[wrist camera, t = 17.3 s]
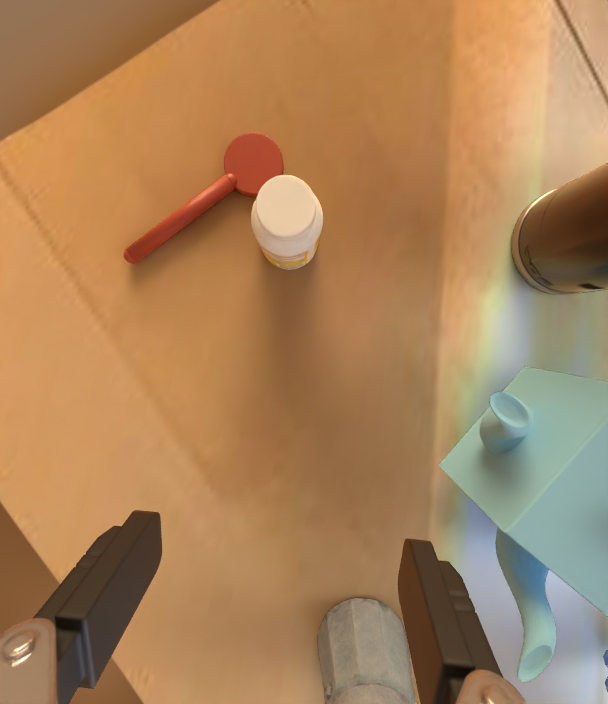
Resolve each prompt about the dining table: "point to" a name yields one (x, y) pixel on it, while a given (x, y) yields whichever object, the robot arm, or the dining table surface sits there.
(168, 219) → the red spoon
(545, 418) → the teakettle
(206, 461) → the dining table surface
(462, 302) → the dining table surface
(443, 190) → the dining table surface
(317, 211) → the supplement bottle
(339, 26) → the dining table surface
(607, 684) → the grapes
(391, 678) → the moka pot
